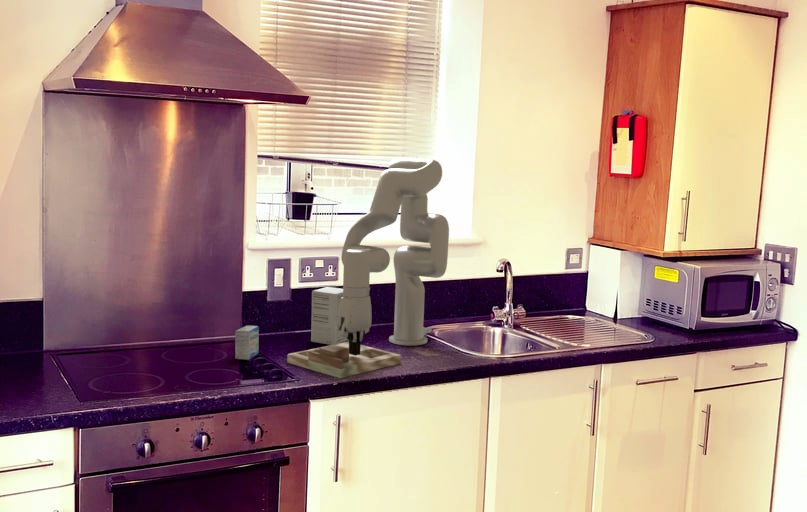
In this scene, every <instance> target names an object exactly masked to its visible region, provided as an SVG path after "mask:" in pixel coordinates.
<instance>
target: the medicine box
mask: <svg viewBox="0 0 807 512" xmlns="http://www.w3.org/2000/svg"><path fill="white" fill-rule="evenodd" d="M259 332H260V327H259V326H258V325H245V326H242V327H240V328H239V329H236V330H235V333H234V335H235V336H234V337H235V341H234V342H235V343H234V344H235V345H234V346H235V347H234V348H235V349H234V352H235V353H234V354H235V356H234V357H235V359H236V360H246V361H250V360H251V359H253V358H254V357H256V356H257V355H259V342H260V341H259V340H260V339H259V335H260V333H259Z"/></svg>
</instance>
